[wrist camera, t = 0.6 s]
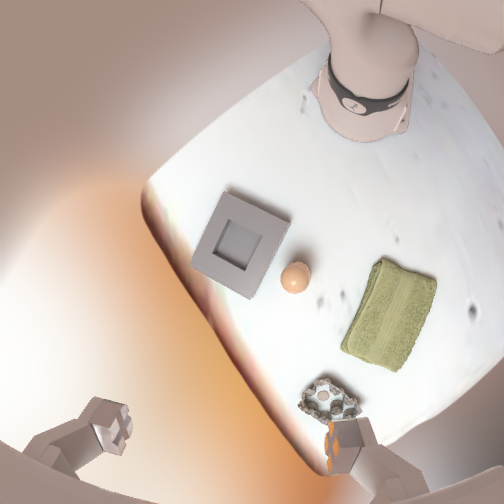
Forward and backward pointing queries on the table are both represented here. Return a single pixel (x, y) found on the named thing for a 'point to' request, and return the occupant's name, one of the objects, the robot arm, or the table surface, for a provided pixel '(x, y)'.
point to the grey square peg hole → (239, 245)
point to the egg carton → (335, 405)
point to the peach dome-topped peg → (295, 277)
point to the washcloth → (390, 316)
